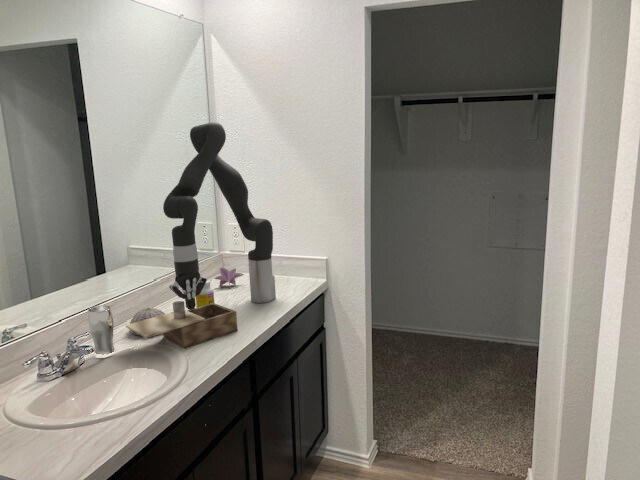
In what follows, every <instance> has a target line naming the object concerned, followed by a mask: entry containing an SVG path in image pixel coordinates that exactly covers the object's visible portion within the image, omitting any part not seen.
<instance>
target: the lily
mask: <svg viewBox="0 0 640 480" xmlns="http://www.w3.org/2000/svg"><path fill="white" fill-rule="evenodd" d="M219 272H220V275H218V276H216V277H213V279H214V280H218V281H219V286H220V285H221V286H223V285H225V284H227V283H228V286H229V290H230V289H231V290H232V288H231V284H232V285H234V284H235V285H236V279H238V278H240V277H243V276H244V273H242V272H237V268H233V269H230V270H228V269H227V268H224V267H219Z"/></svg>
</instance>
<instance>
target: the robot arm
mask: <svg viewBox="0 0 640 480" xmlns="http://www.w3.org/2000/svg"><path fill="white" fill-rule="evenodd" d="M226 134H227V133H226V131H225V128H224V126H223V125H222V124H221V123H219V122H217V121H214V122H213V121H212V122H207V123H204V124H202V123H201V124H198V125H196V126H193V127H192V128H191V129H190V132H189V138H190V141H191V144H192V146H193V148H194V149H195V151H196V153H197V154H196V155H195V156H194V158H193V159H192V160H191V161H190V162H188V164H187V166H186V167H185V168H184V170H183V171H182V174H181V176H180V178H179V181H178V183H177V185H175V186H174V188H173V189H172V190H171V191H170V192H169V193H168V195H167V196H166V198H164V202H163V206H162V207H163V208H162V209H163V213H164V215H165V216H166V218H168V219H182V220H183V222H182V223H181V224H180V225H176V226H174V227H173V228H172V230H171V236H172V237H171V238H172V255H173V264H174V273H175V278H174V283H172V284H170V285H169V287H168V288H169V289H170V290H171V291H172V292H173V293H175V295H176V296H177V297H178V298H179V299H183V300H184V304H185V309H187V310H192V309H195V308H196V296H197V295H199V294H200V293H201V291H202V289H203V287H204V285H205V283H206V281H207V280H208V279H207V278H205V277H203V276H201V274H200V272H199V270H200V266H199V254H198V249H197V243H196V234H195V230H196V223H197V216H198V212H199V206H198V203H197V200H196V199H195V198H194V197H196V196H198V194H199V193H200V190H201V188H202V185H203V183H204V180H205V178H206V176H207V173H208V171H210V173H211V175H212V177H213V179H214V181H215V182H216V184H217V186H218V188H219V190H220V192H221V193H222V195H223V197H224V199H225V200H226V202H227V204H228V206H229V207H230V209H231V212H232V213H233V214H234V215H233V216H234V217H235V219H236V222H237V224H238V226H239V229H240V231H241V234H242V235H243V237H244V238H245V239H246V240H248V241H251V242H255V246H254V247H255V248H254V249H252V250H250V251H248V253H247V258H248V259H247V260H248V273H249V275H248V276H249V288H250V289H249V291H250V301H251V302H252V303H257V304H258V303H259V304H260V303H261V304H262V303H263V304H264V303H269V302H272V301H273V300H275V299H276V298H277V297H276V296H277V295H276V294H277V293H276V280H275V279H276V277H275V275H274V274H273V261H272V260H273V258H272V253H273V249H274V240H273V239H274V236H273V235H274V232H273V230H274V229H273V225H272V223H271V221H270V220H268V219H266V218H258V217H255V216H254V215H253V213H252V211H251V209H250V208H249V204H248V201H249V189H248V187H247V184H246V182H245V181H244V179H243V176H242V175H241V174H240V172H239V171H238V170H236V168H234V167H233V166H231V165H230V164H229V163H227V162H226V161H225V160H224V159H222V158H221V156H219V153H220V152H221V150H222V149H223V147H224V145H225V143H226V140H227V139H226V137H227V135H226ZM180 288H181V290H180Z"/></svg>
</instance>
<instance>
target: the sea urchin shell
mask: <svg viewBox="0 0 640 480" xmlns="http://www.w3.org/2000/svg"><path fill="white" fill-rule="evenodd" d="M164 314H166V313H165V312H164V311H162V310H161V309H159V308H156V307H147V308H143V309H140V310H138V311H137V312H136V313H135V314H134V315H133V317H132V318H131V321H130V322H129V324H132V323H135V322H139V321H142V320H146V319H149V318H153V317H157V316H160V315H164ZM129 331H130V332H131V334H133V335H135V336H140V335H139V334H137V333H136V332H134V331H132V330H130V329H129Z"/></svg>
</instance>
